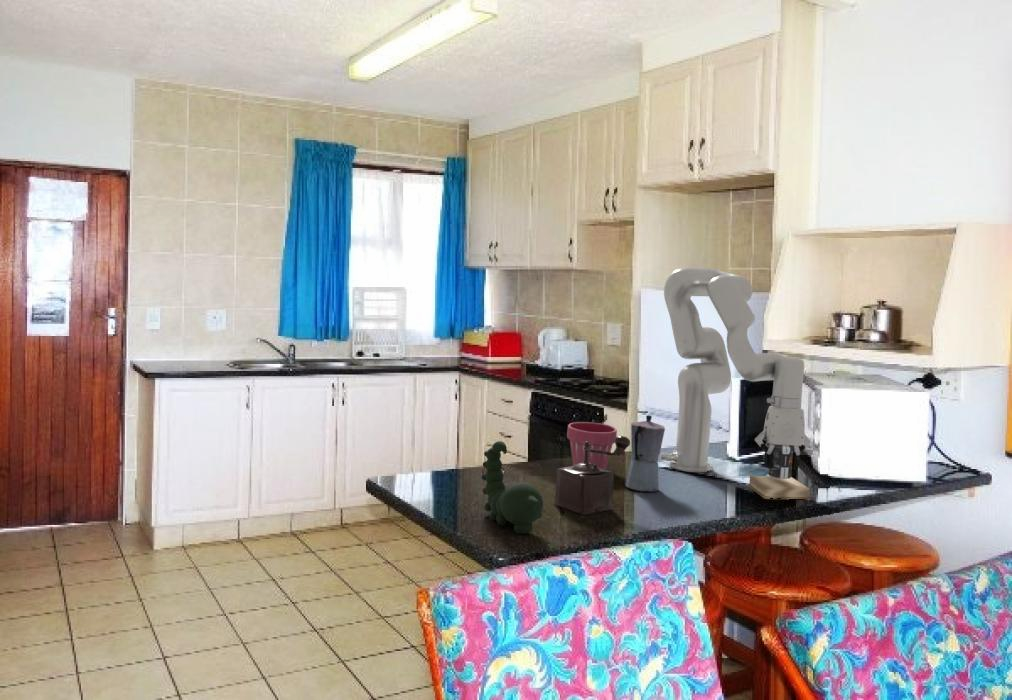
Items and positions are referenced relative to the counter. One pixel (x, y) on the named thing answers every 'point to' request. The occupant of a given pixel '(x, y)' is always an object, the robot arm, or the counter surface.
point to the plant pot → (591, 441)
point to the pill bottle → (781, 462)
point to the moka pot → (645, 455)
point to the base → (778, 488)
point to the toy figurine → (509, 495)
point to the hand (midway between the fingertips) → (780, 467)
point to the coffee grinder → (587, 483)
